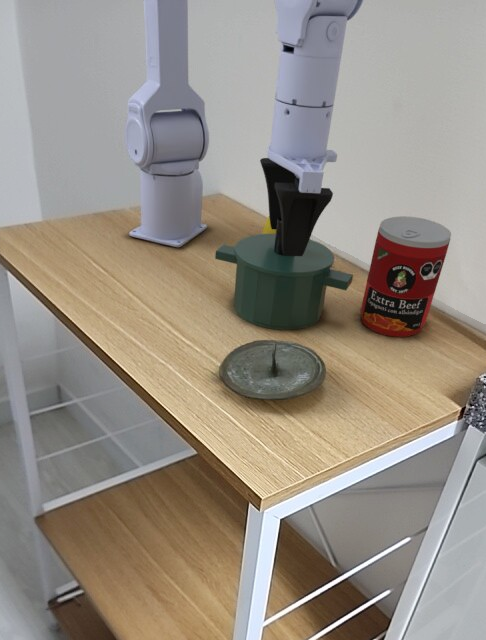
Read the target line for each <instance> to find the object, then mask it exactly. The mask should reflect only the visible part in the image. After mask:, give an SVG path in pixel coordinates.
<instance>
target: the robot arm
mask: <svg viewBox="0 0 486 640" xmlns="http://www.w3.org/2000/svg"><path fill="white" fill-rule="evenodd" d="M188 1H189V0H143V19H144V21H143V22H144V43H145V44H144V45H145V65H146V81H145V83H144V84H143V85H142V86H141V87H140V88H139V89H138V90H137V91H136V92H135V93H133V94H132V96H130V97H129V98H128V100H127V108H126V109H127V113H126V115H127V116H126V124H125V128H124V140H125V147H126V151H127V154H128V156H129V158H130V160H131V161H132V163H133V164H134V166H136V167H138V169H139V176H140V177H139V178H140V179H139V180H140V181H139V183H140V225H139V226H137V227H135V228H134V229H132V230H130V231H129V232H128V235H129V237H132V238H136V239H140V240H144V241H149V242H153V243H156V244H160V245H165V246H170V247H174V248H181V247H183V246H184V245H185V244H187V243H188V242H190V241H191V240H192V239H193V238H195V237H196V236H198V235H199V234H201V233H202V232H203V231H205V230H206V229H207V228H208V225H207V224H205V223H202V215H203V214H202V213H203V195H204V194H203V189H204V185H203V184H204V182H203V177H202V174H201V172H200V162H202V161H203V160H204V159H205V158H206V155H207V153H208V149H209V147H210V145H209V144H210V132H209V127H208V123H207V118H206V109H205V107H206V105H205V104H206V103H205V101H204V99H203V98H202V97H201V96H200V95H199V94H198V93H197V92H196V91H195V90H194V89H193V87H192V86H191V85H190V83H189V24H188V22H189V13H188V11H189V9H188V5H189V4H188V3H189V2H188ZM273 2H274V6H275V9H276V14H277V15H276V16H277V22H276V23H277V24H276V32H275V33H276V34H277V40H278V41H279V42H280V50H279V57H278V59H279V60H278V69H277V77H276V86H275V87H276V88H275V97H274V104H273V105H274V106H273V115H272V116H273V117H272V126H271V134H270V144H269V145H268V147H267V154H266V156H267V157H263V158H260V160H259V162H260V165H261V167H262V168H261V169H262V171H263V175H264V178H265V184H266V189H267V200H268V217H269V218H270V225H271V229H276V228H277V220H278V218H279V217H281V222H282V250H283V254H284V256H303V254H304V252H305V249H306V247H307V244H308V242H309V239H310V240H311V237H312V233H313V232H314V229H315V226H316V224H317V222H318V220H319V218H320V216H321V215H322V214H323V212H324V210H325V209H326V207H327V206H328V205H329V204H330V202H331V201H332V198H333V196H334V192H333V191H332V190H331V188H329V187H322V185H323V178H324V174H325V173H324V169H325V166H326V165H327V163H336V162H337V161H338V154H337V152H336V151H335V150H332V149H328V143H329V137H330V130H331V123H332V117H333V112H334V105H335V99H336V95H337V93H336V92H337V87H338V81H339V74H340V67H341V63H342V62H341V61H342V57H343V56H342V55H343V49H344V42H345V37H346V30H347V24H348V22H349V21H350V20H351V19H353V18H354V17H355V15H357V13H358V12H359V10H360V9H361V7H362V5H363V2H364V0H273ZM174 110H175V111H174Z"/></svg>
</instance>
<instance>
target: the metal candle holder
mask: <svg viewBox="0 0 486 640" xmlns="http://www.w3.org/2000/svg"><path fill="white" fill-rule="evenodd" d="M326 373H327V367H326V364H325V361H324V360H323V359H322V358H321V356H320V355H318V353H317V352H316V351H315V350H313V349H312V348H310V347H308V346H306V345H302V344H300V343H297V342H293V341H289V340H288V341H284V340H279V339H278V340H277V339H276V340H274V339H271V340H270V339H259V340H258V339H257V340H253V341H250V342H246V343H244V344H241V345H240V346H237V347H235V348H234V349H233V350H232V351H230V352H229V353H227V355H226V356H225V358H223V360H222V361H221V363H220V365H219V368H218V377H219V378H220V380H221V381H222V383H223V385H224V386H225V387H226V388H227V389H229V390H230V391H232V392H233V393H235V394H237V395H238V396H242V397H243V398H246V399H249V400H250V399H251V400H257V401H265V402H282V401H289V400H294V399H297V398H300V397H303V396H305V395H308V394H311V393H312V392H314V391H315V390H317V389H318V388H319V387H320V386H321V385H322V384H323V383H324V381H325V379H326V375H327V374H326Z"/></svg>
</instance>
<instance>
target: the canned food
mask: <svg viewBox="0 0 486 640" xmlns="http://www.w3.org/2000/svg"><path fill="white" fill-rule="evenodd" d="M451 236H452V233H451V230H450V229H448V228H447V227H446V226H445V225H442V224H441V223H439V222H436V221H433V220H430V219H426V218H422V217H416V216H405V215H404V216H403V215H402V216H392V217H388V218H384V219H383V220H382V221H380V224H379V227H378V230H377V235H376V238H375V243H374V247H373V253H372V257H371V262H370V266H369V270H368V274H367V278H366V279H367V280H366V284H365V290H364V293H363V299H362V303H361V307H360V318H361V322H362V323H363V325H365V327H367V328H368V329H369V330H371V331H373V332H375V333H378V334H381V335H383V336H389V337H394V338H395V337H397V338H401V337H403V338H404V337H410V336H411V337H412V336H413V335H416V334H418V333H419V332H421V331H422V330H423V328H424V326H425V325H426V323H427V319H428V317H429V313H430V309H431V305H432V303H433V299H434V295H435V293H436V289H437V286H438V283H439V279H440V277H441V272H442V269H443V266H444V263H445V259H446V257H447V253H448V249H449V246H450V242H451Z"/></svg>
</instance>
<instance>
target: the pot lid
mask: <svg viewBox="0 0 486 640" xmlns="http://www.w3.org/2000/svg"><path fill="white" fill-rule="evenodd" d="M234 247H235V250H234V253H235V256H236V258H237V259H238V260H239V261H240V262H241V263H243V264H244V265H246V266H248V267H250V268H252V269H255V270H258V271H261V272H264V273H268V274H273V275H279V276H290V277H302V276H312V275H317V274H320V273H323V272H325V271H327V270H329V269H331V268H332V267H333V265H334V261H335V255H334V253H333V251H332V250H331V249H329V247H327V246H326V245H324V244H322V243H320V242H318V241H315V240H313V239H311V238H310V239H309V242H308V244H307V247H306V249H305V252H304V254H303V256H284V254H283V250H282V222H281V217H279V218H278V220H277V228H276V234H262V233H259V234H258V233H257V234H253V235H249V236H245V237H243V238H241V239H239V240H238V241H237V242H236V243H235V245H234Z"/></svg>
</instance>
